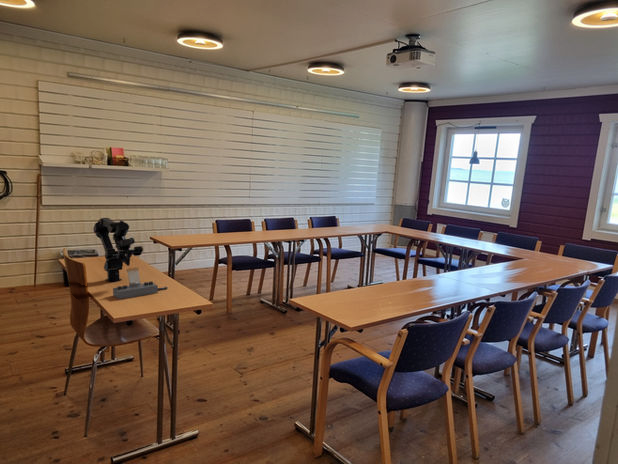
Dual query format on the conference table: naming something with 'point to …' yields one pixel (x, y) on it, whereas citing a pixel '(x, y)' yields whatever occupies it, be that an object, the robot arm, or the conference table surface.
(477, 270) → the conference table surface
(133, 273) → the lever
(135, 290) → the breaker box
